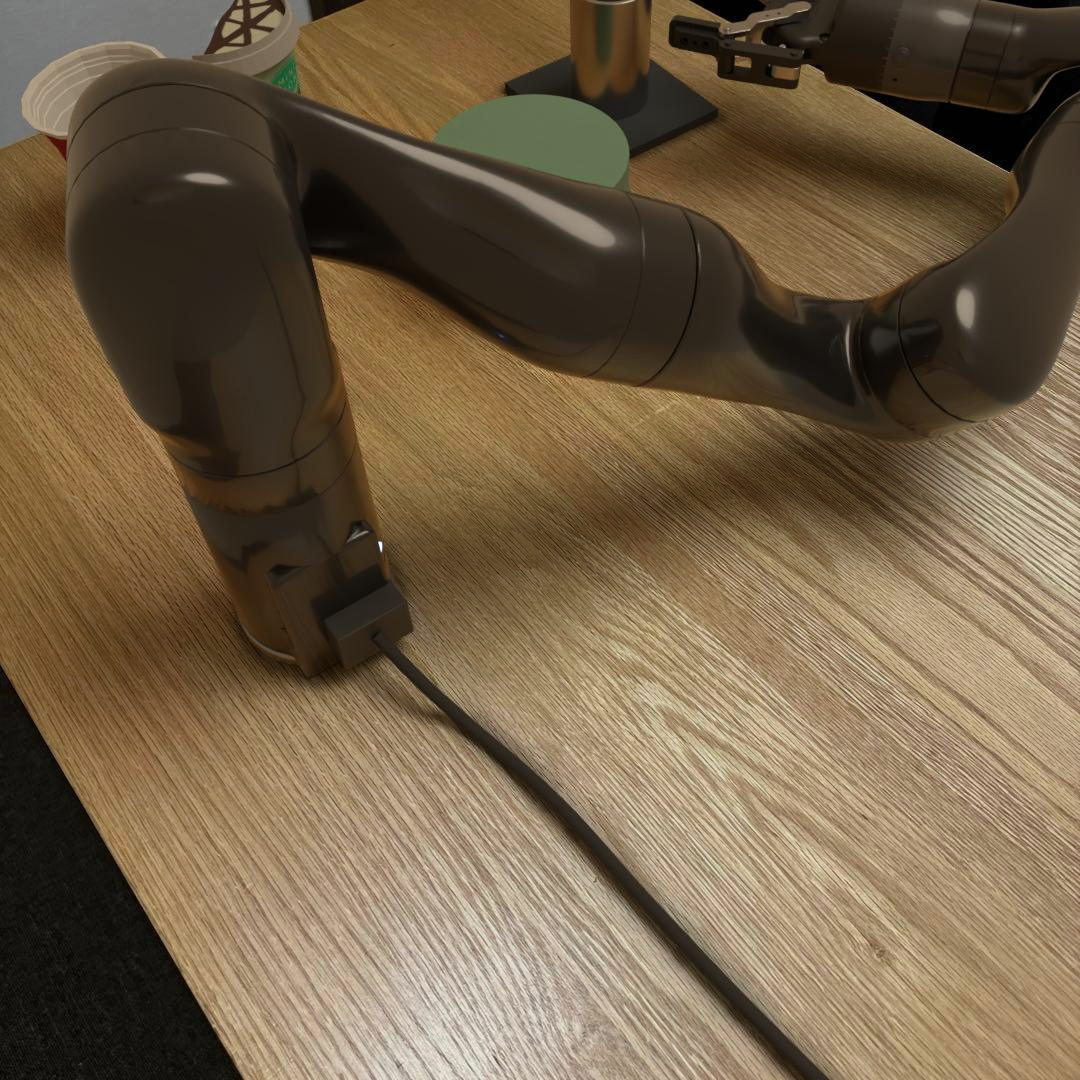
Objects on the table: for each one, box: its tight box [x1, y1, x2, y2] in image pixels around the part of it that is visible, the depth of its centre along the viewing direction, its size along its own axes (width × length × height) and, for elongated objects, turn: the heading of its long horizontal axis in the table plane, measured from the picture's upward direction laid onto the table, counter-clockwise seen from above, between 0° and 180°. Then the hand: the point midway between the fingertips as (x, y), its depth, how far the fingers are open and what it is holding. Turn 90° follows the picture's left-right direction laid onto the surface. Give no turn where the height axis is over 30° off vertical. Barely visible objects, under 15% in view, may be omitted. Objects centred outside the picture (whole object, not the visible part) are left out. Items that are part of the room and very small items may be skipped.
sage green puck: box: [431, 94, 632, 193], centre depth 86 cm, size 15×15×9 cm
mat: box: [504, 53, 719, 159], centre depth 100 cm, size 14×12×1 cm
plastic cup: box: [20, 40, 167, 162], centre depth 89 cm, size 11×11×12 cm
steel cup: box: [569, 0, 653, 120], centre depth 96 cm, size 6×6×10 cm
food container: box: [191, 0, 302, 95], centre depth 96 cm, size 12×6×10 cm, turn 171°
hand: (688, 0), depth 91 cm, fingers open, 8 cm apart
